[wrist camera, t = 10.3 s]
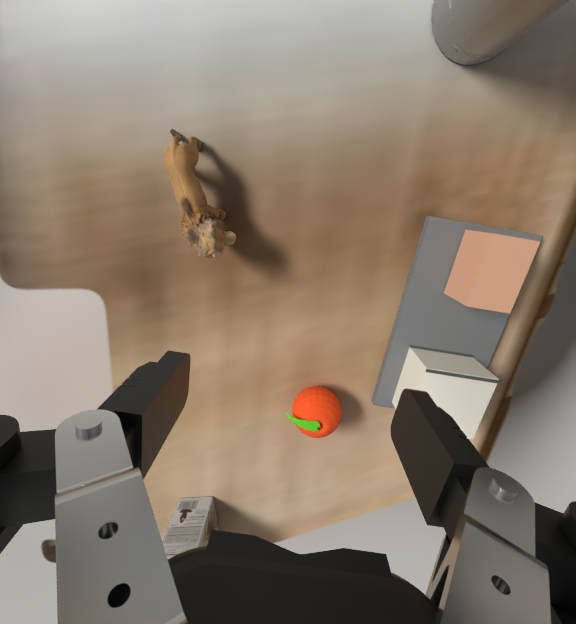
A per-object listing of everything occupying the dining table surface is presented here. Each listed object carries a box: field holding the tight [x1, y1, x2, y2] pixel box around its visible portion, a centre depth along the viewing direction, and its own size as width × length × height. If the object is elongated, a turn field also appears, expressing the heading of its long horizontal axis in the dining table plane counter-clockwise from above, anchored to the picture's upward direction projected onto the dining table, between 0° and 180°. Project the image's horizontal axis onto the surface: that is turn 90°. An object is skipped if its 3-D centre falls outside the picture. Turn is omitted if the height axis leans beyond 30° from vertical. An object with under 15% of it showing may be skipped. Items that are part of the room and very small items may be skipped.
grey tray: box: [372, 216, 543, 439], centre depth 39 cm, size 27×14×7 cm, turn 171°
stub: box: [444, 230, 540, 314], centre depth 36 cm, size 8×5×6 cm, turn 171°
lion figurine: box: [164, 129, 236, 258], centre depth 33 cm, size 15×5×9 cm, turn 24°
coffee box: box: [162, 496, 220, 559], centre depth 48 cm, size 9×6×16 cm
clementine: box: [285, 386, 341, 438], centre depth 43 cm, size 8×7×7 cm
